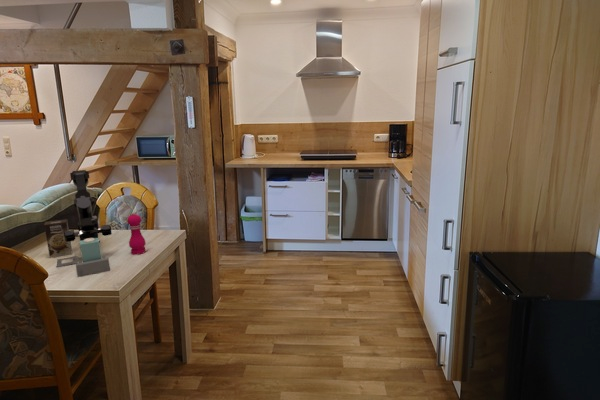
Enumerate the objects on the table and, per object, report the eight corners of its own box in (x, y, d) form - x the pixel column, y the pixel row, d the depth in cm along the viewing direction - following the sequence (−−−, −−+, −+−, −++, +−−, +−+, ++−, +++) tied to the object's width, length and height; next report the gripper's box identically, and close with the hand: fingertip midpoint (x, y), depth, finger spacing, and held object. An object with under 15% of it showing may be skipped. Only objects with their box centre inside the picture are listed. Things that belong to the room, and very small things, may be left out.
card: (57, 260, 178) (57, 259, 178) (77, 256, 182) (77, 255, 182) (56, 267, 170) (56, 266, 170) (77, 263, 174) (77, 262, 174)
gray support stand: (77, 268, 169) (75, 257, 167) (108, 262, 174) (106, 251, 173) (77, 277, 159) (75, 265, 158) (110, 270, 165) (108, 259, 164)
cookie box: (49, 258, 181) (43, 224, 178) (50, 254, 187) (44, 221, 183) (72, 254, 185) (66, 221, 182) (72, 250, 191) (67, 218, 187)
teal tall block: (84, 267, 169) (79, 239, 166) (102, 263, 172) (97, 236, 169) (84, 272, 164) (79, 242, 161) (103, 268, 167) (98, 239, 164)
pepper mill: (133, 250, 189) (127, 209, 184) (148, 249, 189) (143, 209, 185) (128, 255, 182) (122, 214, 177) (144, 254, 182) (138, 213, 178)
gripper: (60, 213, 170) (64, 245, 163) (107, 207, 178) (113, 237, 172) (63, 226, 178) (67, 256, 172) (108, 219, 187) (114, 248, 181)
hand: (90, 249), depth 174 cm, fingers closed
